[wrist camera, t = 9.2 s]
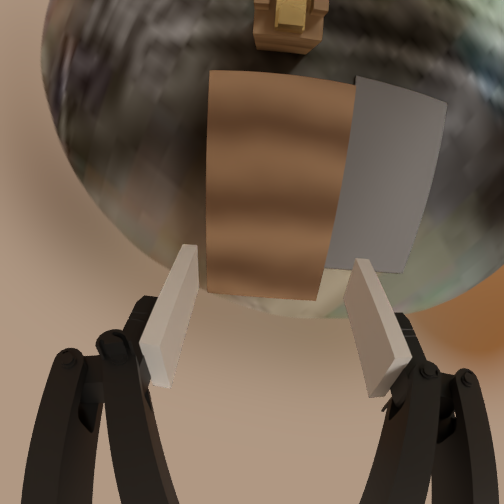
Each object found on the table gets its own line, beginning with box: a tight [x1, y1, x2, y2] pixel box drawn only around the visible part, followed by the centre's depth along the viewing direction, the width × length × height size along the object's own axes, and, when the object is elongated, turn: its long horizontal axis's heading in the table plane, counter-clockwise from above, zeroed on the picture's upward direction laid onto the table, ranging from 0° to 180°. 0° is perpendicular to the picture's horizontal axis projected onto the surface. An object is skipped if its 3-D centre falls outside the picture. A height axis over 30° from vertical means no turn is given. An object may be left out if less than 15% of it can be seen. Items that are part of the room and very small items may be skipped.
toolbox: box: [253, 0, 329, 55], centre depth 25 cm, size 28×8×11 cm, turn 176°
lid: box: [206, 70, 356, 301], centre depth 26 cm, size 21×11×4 cm, turn 176°
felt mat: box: [324, 76, 448, 273], centre depth 31 cm, size 24×12×1 cm, turn 176°
